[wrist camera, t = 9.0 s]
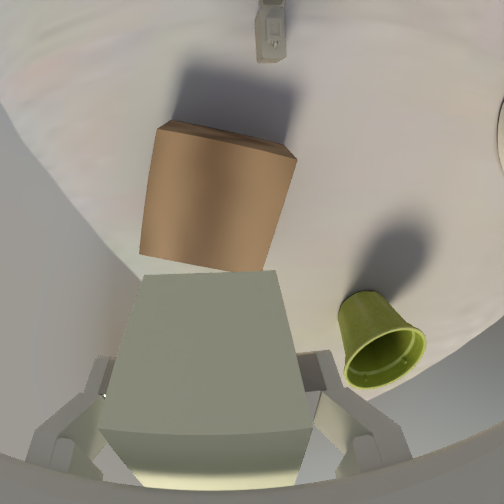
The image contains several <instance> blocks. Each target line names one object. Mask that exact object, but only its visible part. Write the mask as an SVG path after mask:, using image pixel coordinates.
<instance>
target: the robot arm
mask: <svg viewBox="0 0 504 504" xmlns="http://www.w3.org/2000/svg"><path fill="white" fill-rule="evenodd" d="M498 151H499V157H500V162H501V165H502V168H503V171H504V103H503V105H502V109H501V112H500V117H499V124H498ZM296 356H297V360H298V364H299V369H300V373H301V377H302V381H303V386H304V390H305V394H306V399H307V403H308V407H309V412H310V416H311V420H312V422H313V424H314V425H315V426H316V427H317V428H318V429H319V430H320V431H321V432H322V433H323V434H324V435H325V436H326V437H327V438H328V439H329V440H330V441H331V442H332V443H333V444H334V445H335V446H336V447H337V448H338V449H339V450H340V451H341V452H342V453H343V454H344V455H345V456H344V457H343V459H342V461H341V462H340V464H339V466H338V467H337V469H336V471H335V473H336V478H337V479H332V480H326V481H321V482H314V483H308V484H301V485H293V486H284V487H275V488H263V489H248V490H177V489H162V488H151V487H141V486H133V485H125V484H118V483H112V482H106V481H102V480H103V473H102V472H101V470H100V469H99V468H98V467H97V466H95V464H94V463H93V462H92V461H93V460H94V458H95V457H96V456H97V455H98V454H99V452H100V451H101V450H102V449H103V448H104V446H105V445H106V444H107V443H108V442H107V441H106V439H105V438H104V437H103V435H102V434H101V432H100V431H99V430H98V428H97V427H98V423H99V419H100V415H101V411H102V407H103V403H104V400H105V396H106V392H107V388H108V385H109V381H110V378H111V374H112V371H113V367H114V364H115V361H116V357H108V356H98V357H97V358H96V359H95V361H94V364H93V367H92V370H91V372H90V375H89V379H88V381H87V384H86V387H85V390H84V393H79V394H77V395H76V396H75V397H74V398H73V399H72V400H70V401H69V402H68V403H67V404H66V405H64V406H63V407H62V408H61V409H60V410H59V411H57V412H56V413H55V414H54V415H53V416H51V417H50V418H49V419H48V420H47V421H45V422H44V423H43V424H42V425H41V426H40V427H39V428H37V429H36V430H35V432H34V435H33V438H32V441H31V444H30V447H29V450H28V454H27V457H26V460H25V461H22V460H19V459H16V458H13V457H11V456H8V455H5V454H2V453H0V504H504V421H502V422H500V423H498V424H496V425H494V426H492V427H490V428H488V429H486V430H484V431H481V432H479V433H477V434H475V435H473V436H471V437H468V438H466V439H464V440H462V441H459V442H457V443H454V444H452V445H449V446H447V447H444V448H442V449H439V450H436V451H434V452H431V453H428V454H425V455H423V456H420V457H417V458H414V459H413V458H412V455H411V453H410V450H409V447H408V445H407V442H406V440H405V437H404V435H403V432H402V430H401V427H400V425H398V424H397V423H395V422H394V421H393V420H391V419H390V418H388V417H387V416H386V415H384V414H383V413H382V412H380V411H379V410H377V409H376V408H375V407H374V406H372V405H371V404H369V403H368V402H367V401H366V400H364V399H363V398H362V397H360V396H359V395H358V394H356V393H355V392H354V391H352V390H351V389H350V388H348V387H347V388H344V387H343V384H342V381H341V378H340V376H339V373H338V370H337V367H336V364H335V361H334V358H333V355H332V353H331V351H330V350H323V351H314V352H313V351H312V352H303V353H296Z"/></svg>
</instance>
